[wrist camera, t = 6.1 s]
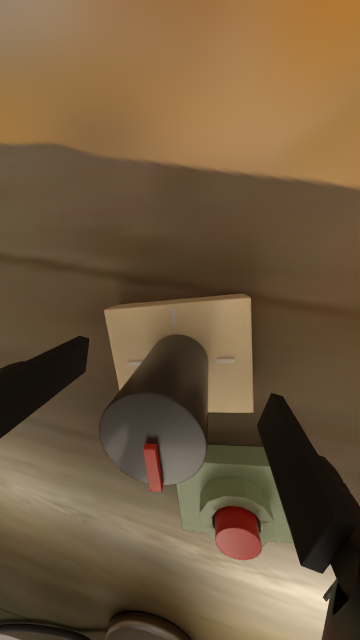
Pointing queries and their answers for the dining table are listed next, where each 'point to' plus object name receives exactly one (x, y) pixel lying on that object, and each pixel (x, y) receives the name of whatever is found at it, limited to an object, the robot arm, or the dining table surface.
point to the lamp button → (237, 533)
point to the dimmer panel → (200, 324)
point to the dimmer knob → (161, 415)
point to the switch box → (233, 492)
